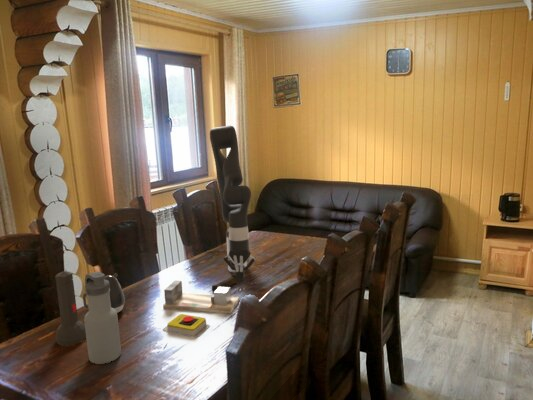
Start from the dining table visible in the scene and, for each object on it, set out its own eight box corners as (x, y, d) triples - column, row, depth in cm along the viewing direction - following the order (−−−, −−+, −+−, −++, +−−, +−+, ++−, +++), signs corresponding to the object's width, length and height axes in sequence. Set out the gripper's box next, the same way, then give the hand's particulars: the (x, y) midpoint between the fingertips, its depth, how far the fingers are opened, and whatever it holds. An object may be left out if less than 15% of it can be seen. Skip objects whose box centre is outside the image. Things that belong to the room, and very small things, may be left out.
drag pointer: (216, 297, 177) (215, 291, 177) (218, 298, 177) (218, 291, 177) (208, 308, 168) (207, 300, 168) (210, 308, 168) (210, 300, 167)
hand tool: (218, 295, 185) (217, 285, 184) (211, 293, 187) (211, 283, 187) (246, 281, 200) (245, 271, 199) (239, 279, 202) (239, 269, 201)
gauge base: (176, 296, 185) (174, 279, 183) (239, 300, 179) (238, 283, 177) (163, 308, 173) (162, 290, 172) (230, 313, 167) (229, 295, 166)
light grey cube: (219, 298, 177) (218, 286, 176) (231, 298, 176) (230, 287, 175) (214, 304, 171) (213, 292, 170) (226, 305, 170) (225, 293, 169)
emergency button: (196, 327, 149) (160, 320, 155) (197, 338, 150) (161, 331, 156) (210, 315, 157) (175, 309, 163) (211, 326, 158) (176, 320, 164)
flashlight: (49, 345, 148) (74, 348, 145) (40, 275, 143) (65, 277, 140) (70, 331, 157) (93, 334, 154) (61, 265, 152) (85, 267, 150)
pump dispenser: (131, 307, 175) (127, 271, 172) (115, 319, 165) (111, 281, 162) (109, 305, 178) (105, 270, 175) (92, 316, 168) (88, 279, 165)
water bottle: (83, 356, 140) (73, 274, 134) (112, 345, 146) (103, 266, 141) (96, 369, 133) (86, 282, 127) (126, 356, 139) (118, 273, 134)
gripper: (257, 235, 169) (259, 277, 172) (225, 234, 172) (227, 275, 175) (253, 240, 162) (254, 284, 165) (219, 239, 165) (221, 282, 168)
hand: (240, 280), depth 170 cm, fingers closed
